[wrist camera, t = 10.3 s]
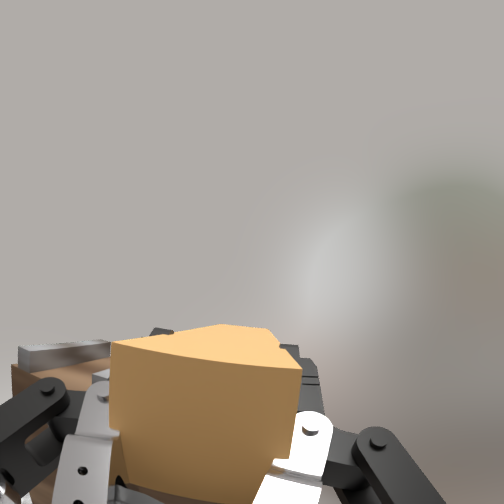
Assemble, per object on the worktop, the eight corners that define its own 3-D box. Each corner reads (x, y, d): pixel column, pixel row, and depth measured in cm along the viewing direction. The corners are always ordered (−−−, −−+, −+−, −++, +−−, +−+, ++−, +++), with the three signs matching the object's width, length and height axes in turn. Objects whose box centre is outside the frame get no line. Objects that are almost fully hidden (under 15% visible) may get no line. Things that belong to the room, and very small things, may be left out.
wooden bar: (216, 364, 27) (220, 323, 28) (263, 369, 27) (267, 328, 28) (111, 476, 6) (111, 341, 6) (280, 507, 5) (302, 368, 6)
